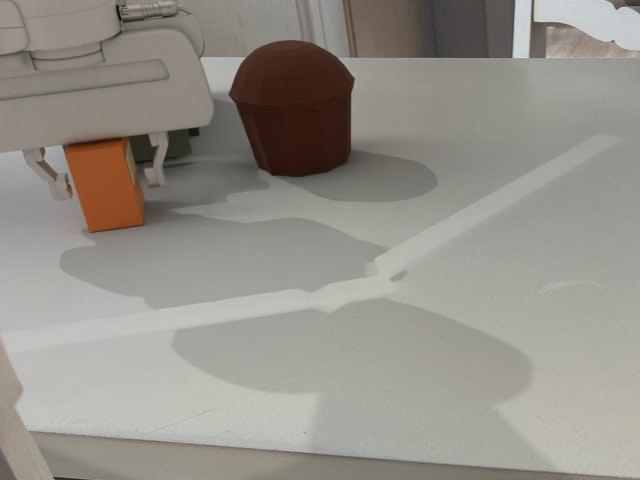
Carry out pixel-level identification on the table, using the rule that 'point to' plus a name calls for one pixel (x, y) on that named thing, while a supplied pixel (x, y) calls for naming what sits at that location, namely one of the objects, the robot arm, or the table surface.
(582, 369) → the table surface
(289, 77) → the muffin
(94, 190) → the orange block
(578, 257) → the table surface
